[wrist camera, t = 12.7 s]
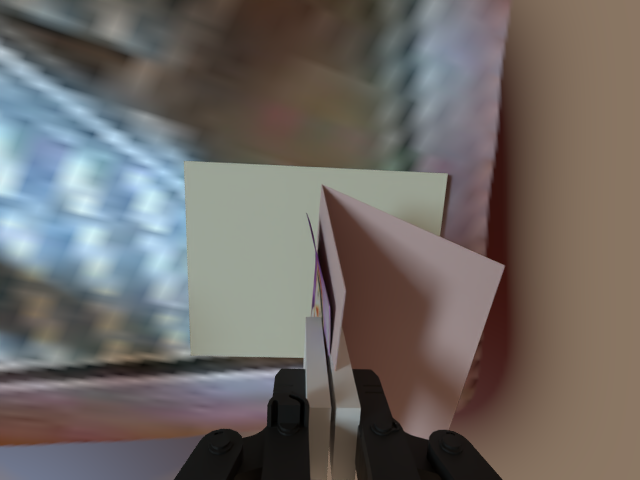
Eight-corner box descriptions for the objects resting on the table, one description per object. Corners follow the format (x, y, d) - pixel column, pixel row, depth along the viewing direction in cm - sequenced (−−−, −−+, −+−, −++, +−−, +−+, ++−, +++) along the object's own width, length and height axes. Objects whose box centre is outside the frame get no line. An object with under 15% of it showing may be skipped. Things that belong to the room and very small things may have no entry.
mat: (192, 352, 31) (190, 355, 31) (186, 160, 27) (183, 161, 27) (422, 356, 32) (424, 360, 32) (445, 173, 29) (447, 173, 28)
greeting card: (294, 369, 28) (307, 183, 22) (388, 370, 29) (426, 190, 23) (295, 542, 18) (318, 289, 12) (439, 538, 19) (537, 296, 12)
